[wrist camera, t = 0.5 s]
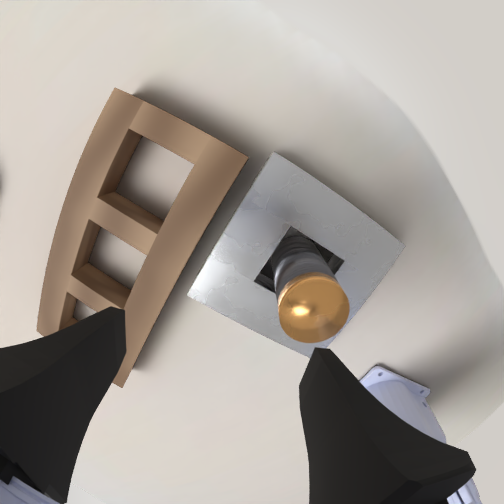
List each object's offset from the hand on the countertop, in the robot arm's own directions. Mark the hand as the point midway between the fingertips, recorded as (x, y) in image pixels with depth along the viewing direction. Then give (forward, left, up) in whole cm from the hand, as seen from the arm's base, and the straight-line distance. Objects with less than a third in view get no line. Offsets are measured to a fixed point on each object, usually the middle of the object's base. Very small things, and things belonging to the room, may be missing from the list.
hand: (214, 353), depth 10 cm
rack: (+7, +4, -10) cm, 12 cm away
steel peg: (-3, -2, -10) cm, 10 cm away
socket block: (-3, -2, -10) cm, 10 cm away
